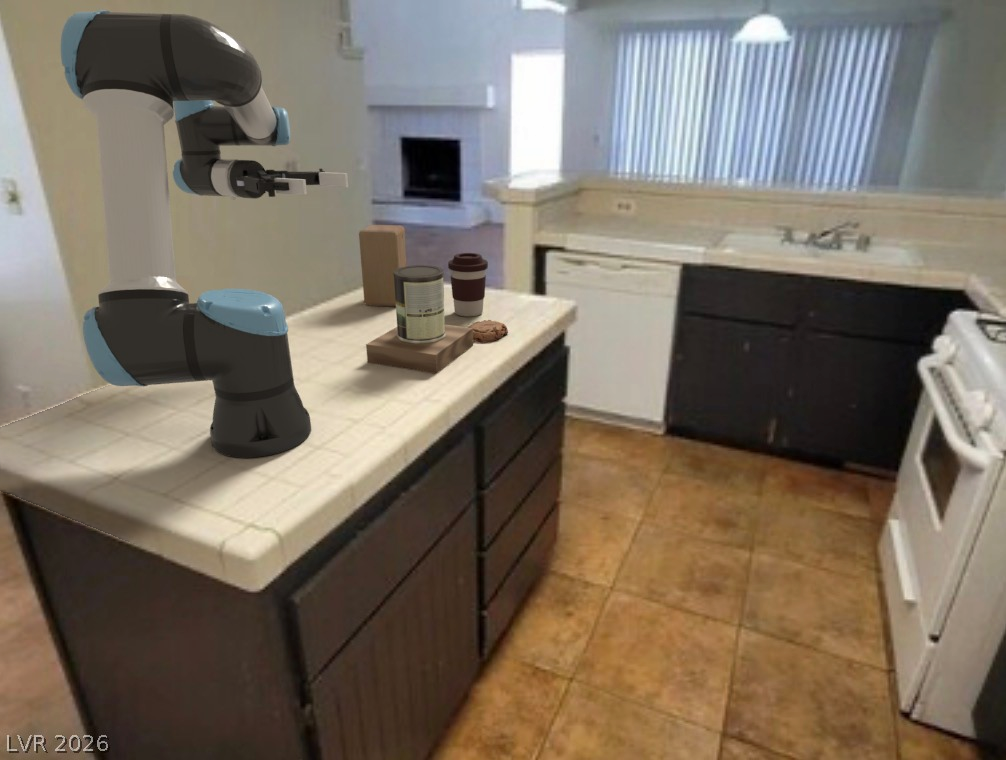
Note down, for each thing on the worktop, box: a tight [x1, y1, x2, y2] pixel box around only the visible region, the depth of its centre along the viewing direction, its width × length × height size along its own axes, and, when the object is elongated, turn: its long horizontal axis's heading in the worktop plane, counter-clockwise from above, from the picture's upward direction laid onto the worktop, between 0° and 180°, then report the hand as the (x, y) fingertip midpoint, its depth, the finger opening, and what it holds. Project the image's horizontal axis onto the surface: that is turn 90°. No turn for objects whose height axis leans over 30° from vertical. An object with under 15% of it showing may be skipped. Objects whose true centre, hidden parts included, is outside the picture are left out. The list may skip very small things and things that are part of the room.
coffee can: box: [393, 264, 446, 344], centre depth 134 cm, size 10×10×14 cm
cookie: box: [467, 319, 509, 343], centre depth 150 cm, size 10×11×3 cm
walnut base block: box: [365, 324, 474, 374], centre depth 138 cm, size 18×16×4 cm
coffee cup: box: [447, 252, 489, 318], centre depth 163 cm, size 10×10×15 cm
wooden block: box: [358, 224, 407, 307], centre depth 171 cm, size 10×10×20 cm
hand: (327, 183), depth 126 cm, fingers open, 13 cm apart
